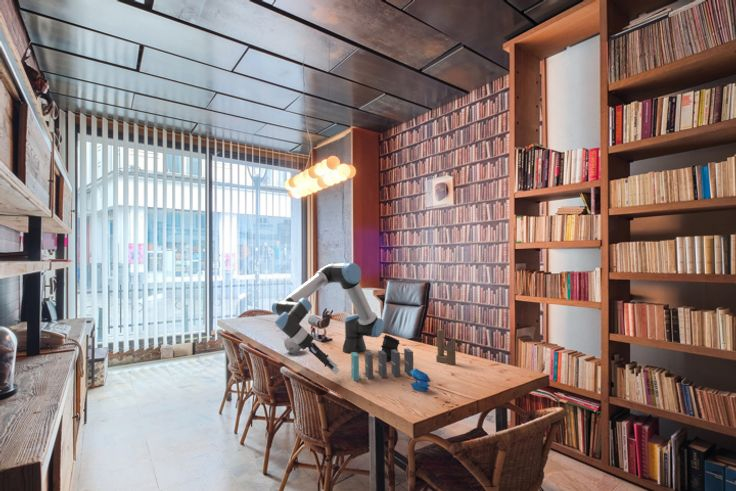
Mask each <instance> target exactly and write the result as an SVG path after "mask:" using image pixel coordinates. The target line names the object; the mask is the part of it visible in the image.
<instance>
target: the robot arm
mask: <svg viewBox="0 0 736 491" xmlns="http://www.w3.org/2000/svg"><path fill="white" fill-rule="evenodd" d="M361 274H362V270H361V268H360V267H359V265H358V264H357V263H354V262H349V261H348V262H332V263H329V264H327V265H324V266H323V267H321V268H319V269H318V270H317V271H316V272H315V273H314V275H313V276H312V277H310V278H309V279H308V280H306V281H305V282H303V284H301V285H300V286H299V287H298V288H296V289H295V290H294V291H292V292H291V293H290V294H288V295H287V296H285V297H284V298H282V300H280V299H279V300H276V301H273V303H272V305H271V311H272V313H273V314H274V315H277V316H278V317H277V318H276V320H275V322H274V323H275V325H276V326H277V328H279V330H280V331H282V332H283V333H284V334H286V336H288V338H291V339H292V342H293V341H294V342H295V343H296V344H298V346H299V347H300V348H301V349H300V350H305V349H307V348H308V352H310V353H311V354H312V355H313V356H315V357H316V358H317V359H318V360H319V362H321V363H322V364H323V365H324V367H327V368H328V369H330V371H331V372H333V373H334V374H335V375H337V374H338V373H339V372H340V369H339V368H338V364H336V362H335V361H333V360H332V359H331V358H330V357H329V354H326V352H324V351H323V350H321V348H319V346H318V345H317V344H316V343H315V342H314V336H313V335H311V334H310V333H309V332H308V331H307V330H306V329H305V328H304V327H303V326H302V325H301V324H300V323H301V322H302V321H303V319H304V318H306V316H307V314H309V312H310V311H311V310H312V303H311V301H310V300H308V298H310V297H311V296H312V295H313V294H314V293H316V292H317V291H318V290H319V289H321V288H322V287H326V286H327V285H329V284H332V283H333V284H334V283H339V284H340V286H341V289H343V290H345V291H346V293H347V295H348V297H349V299H350V301H351V303H352V306H353V308H354V309H355V311H356V314H355V313H353V314H349V315H346V316H345V319H344V320H345V321H344V324H345V325H344V329H345V330H344V332H345V335H344V336H345V339H344V342H343V345H342V352H344V353H347V354H351V352H356V353H357V354H360V353H365V352H366V351H367V346H366V341H365V338H364V337H369V338H379V337H381V335H382V334H383V332H384V328H385V323H384V322H385V321H384V320H383V318H381V317H380V318H379V317H378V315H377V314H376V312H374V311H373V310H372V308H371V306H370V304H369V302H368V299H367V297H366V296H365V293H364V291H363V289H362V286H361V285H360V283H361V279H362V275H361Z"/></svg>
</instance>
